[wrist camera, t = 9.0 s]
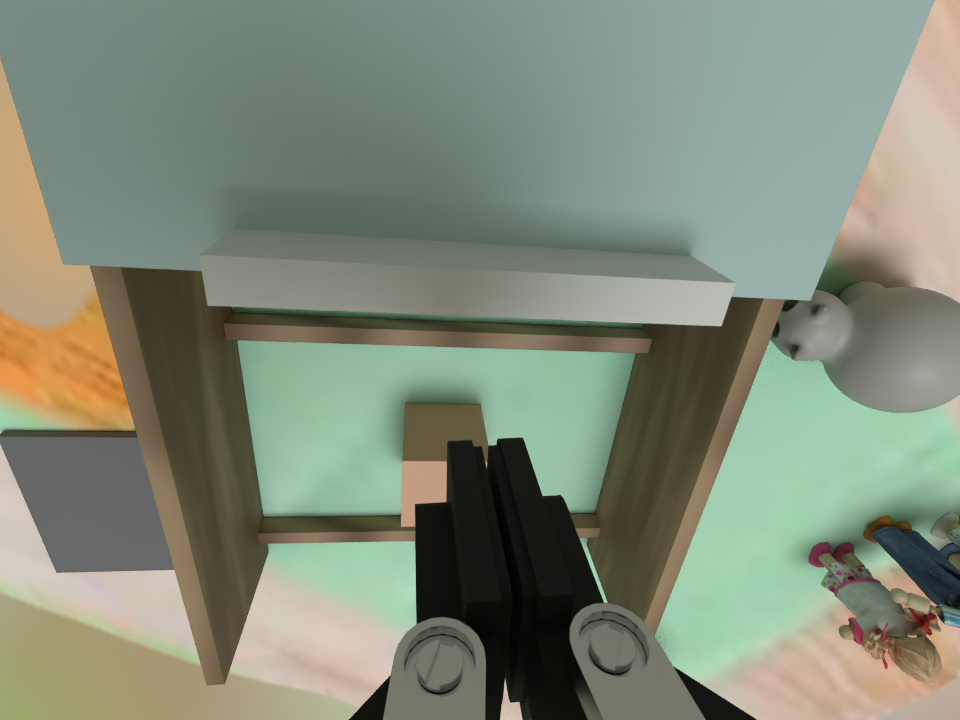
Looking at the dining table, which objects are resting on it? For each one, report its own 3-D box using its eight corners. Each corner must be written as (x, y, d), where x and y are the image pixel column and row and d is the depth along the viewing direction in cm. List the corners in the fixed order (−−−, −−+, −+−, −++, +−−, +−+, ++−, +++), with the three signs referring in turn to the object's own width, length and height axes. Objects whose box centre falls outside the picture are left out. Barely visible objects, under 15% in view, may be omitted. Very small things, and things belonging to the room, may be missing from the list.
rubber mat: (61, 565, 37) (56, 572, 36) (4, 430, 31) (-3, 436, 31) (235, 561, 38) (232, 568, 38) (210, 432, 33) (206, 438, 32)
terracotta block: (403, 462, 36) (400, 526, 30) (405, 402, 33) (402, 461, 28) (474, 462, 36) (483, 525, 31) (480, 404, 34) (491, 461, 29)
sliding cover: (81, 255, 17) (-6, 296, 14) (-98, -378, 11) (-345, -601, 7) (794, 291, 21) (869, 332, 17) (976, -170, 14) (1154, -255, 11)
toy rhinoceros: (759, 235, 33) (798, 257, 26) (954, 291, 31) (1059, 333, 24) (711, 333, 36) (734, 379, 29) (887, 389, 34) (961, 455, 27)
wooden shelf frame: (254, 552, 38) (206, 685, 29) (119, -252, 19) (-135, -539, 10) (598, 545, 42) (644, 662, 33) (784, -137, 22) (1010, -278, 14)
